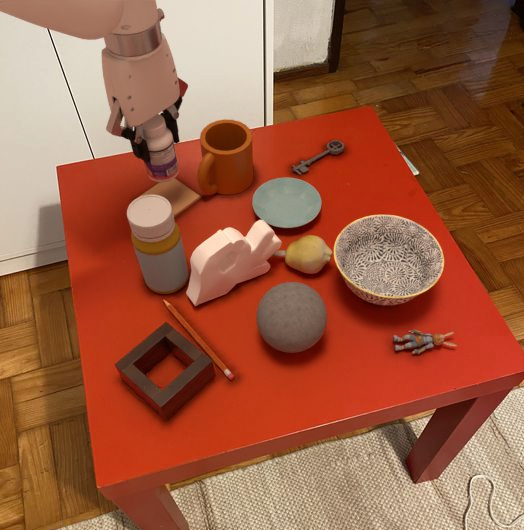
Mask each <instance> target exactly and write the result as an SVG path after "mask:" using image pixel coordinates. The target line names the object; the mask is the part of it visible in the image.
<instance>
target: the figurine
mask: <svg viewBox="0 0 524 530" xmlns="http://www.w3.org/2000/svg"><path fill="white" fill-rule="evenodd" d="M454 334H455V332H454V331H451V332H448V333H445V334H443V333H434V334H431V333H423V332H422V331H421V330H418V329H412V330H411V329H410V330H408V334H405V335H403V336H402V337H400V336H398V335H397V334H394V335H393V336H392V340H393V342H397V343H401V342H404V341H406V343H404V344H402V345H398V344H395V345H394V351H395V352H397V351H402V350H405V349H406V350H408V349H410V350H411V349H413V351H412V352H411V354H412V355H416V354H417V355H419V354H421V353H423V352H424V351H426V350H428V349H432V348H434V346H440V345H442V344H443V345H446V346H448V347H452V348H453V347H454V348H456V347H458V344H456V343H455V342H454V343H453V342H450V341H445V338H446V337H450V336H453V335H454ZM424 345H425V346H424Z"/></svg>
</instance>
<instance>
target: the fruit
mask: <svg viewBox="0 0 524 530" xmlns="http://www.w3.org/2000/svg"><path fill="white" fill-rule="evenodd" d="M333 255H334V251H333V250H332V249H331V248H330V247H329V246H328V245H327V243H326V241H325V240H324V239H323V238H322V237H320V236H318V235H313V234H307V235H303V236H301V237H300V238H298V239H297V240H295V241H292V242H290V243H289V245H288V246H287V248H286V250H277V251H276V252H275V253H274V254H273V255H272V256H271V257H284V262H285V264H286V265H287V266H288V267H290V268H292V269H294V270H297V271H299V272H301V273H304V274H312V275H313V274H317V273H319V272H320V271H322V269H323V268H324V266H325V265H326V264H328V263H330V261H331V260H332V257H333Z"/></svg>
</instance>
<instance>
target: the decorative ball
mask: <svg viewBox="0 0 524 530" xmlns="http://www.w3.org/2000/svg"><path fill="white" fill-rule="evenodd" d="M327 324H328V311H327V306H326V303H325V301H324V300H323V298H322V296H321V295H320V294H319V292H317V291H316V290H315V289H314V288H312V286H310V285H307V284H305V283H304V282H303V283H302V282H298V281H286V282H281V283H279V284H278V283H277V284H276V285H274V286H272V287H271V288H270V289H268V290H267V291H266V292H265V293H264V294H263V296H262V297H261V299H260V301H259V303H258V306H257V309H256V326H257V330H258V332H259V334H260V336H261V337H262V339H263V340H264V341H265V342H266V343H267V345H269V346H270V347H271V348H273V349H275V350H277V351H280V352H283V353H292V354H294V353H300V352H303V351H306V350H309V349H311V348H312V347H313V346H314V345H316V344H317V343H318V342H319V340H320V339H321V338H322V337H323V335H324V333H325V330H326V328H327Z"/></svg>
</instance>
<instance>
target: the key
mask: <svg viewBox="0 0 524 530" xmlns="http://www.w3.org/2000/svg"><path fill="white" fill-rule="evenodd" d="M344 149H345V144H344V142H342V141H340V140H336V139H334V140H332V141H330V142H328V143H327V144H326V150H325V151H323V152H321V153H319V154H317V155H316V156H313V157H311V158H310V159H308V160H305V161H304V160H303V159H302V160H300V161H299V164H298V165H296V166H295V165H294V164H293V165H292V166H291V167H292V172H293V173H297V175H299V176H301V175H302V174H305V173H306V172H308V171H309V170H310V169H309V168H308V167H307V166H310V165H311V164H312V163H314V162H315V161H317V160H319V159H320V158H323V157H325V156H326V155H328V154H330V155H335V156H338V155H339V154H341V153H343V152H344Z"/></svg>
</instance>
